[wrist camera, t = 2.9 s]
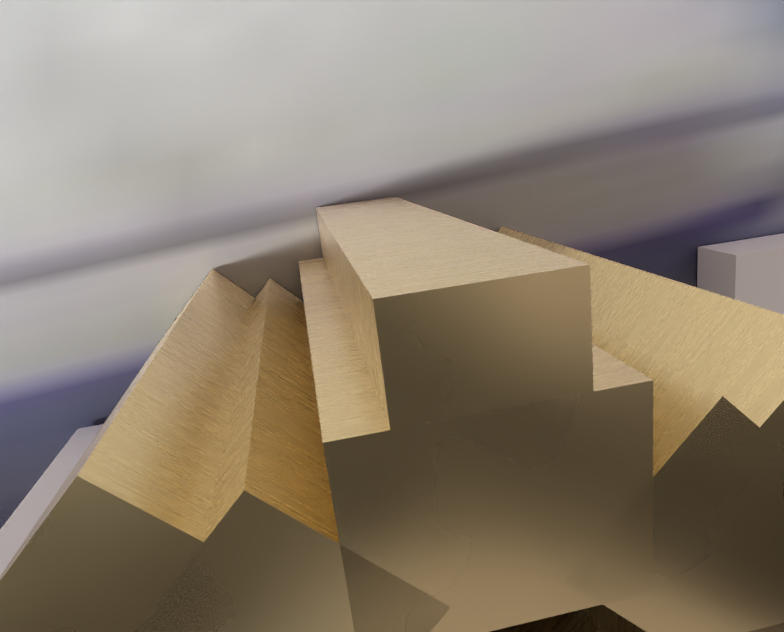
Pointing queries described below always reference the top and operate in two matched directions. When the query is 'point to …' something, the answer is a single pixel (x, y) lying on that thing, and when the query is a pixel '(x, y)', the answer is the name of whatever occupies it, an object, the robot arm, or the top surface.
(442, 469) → the brass gear
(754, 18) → the top surface
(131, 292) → the top surface
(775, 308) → the gear board
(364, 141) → the top surface
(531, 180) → the top surface
